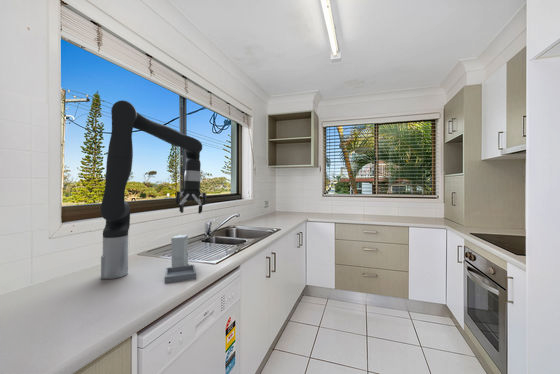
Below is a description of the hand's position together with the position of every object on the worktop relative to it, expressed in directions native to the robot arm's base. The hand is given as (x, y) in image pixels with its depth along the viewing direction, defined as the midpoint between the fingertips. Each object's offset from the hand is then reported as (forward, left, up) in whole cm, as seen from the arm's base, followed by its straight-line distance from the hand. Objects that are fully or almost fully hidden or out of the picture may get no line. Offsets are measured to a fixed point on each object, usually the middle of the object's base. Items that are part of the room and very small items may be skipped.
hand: (190, 213), depth 120 cm
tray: (-5, -14, -26) cm, 30 cm away
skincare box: (-5, 0, -26) cm, 27 cm away
